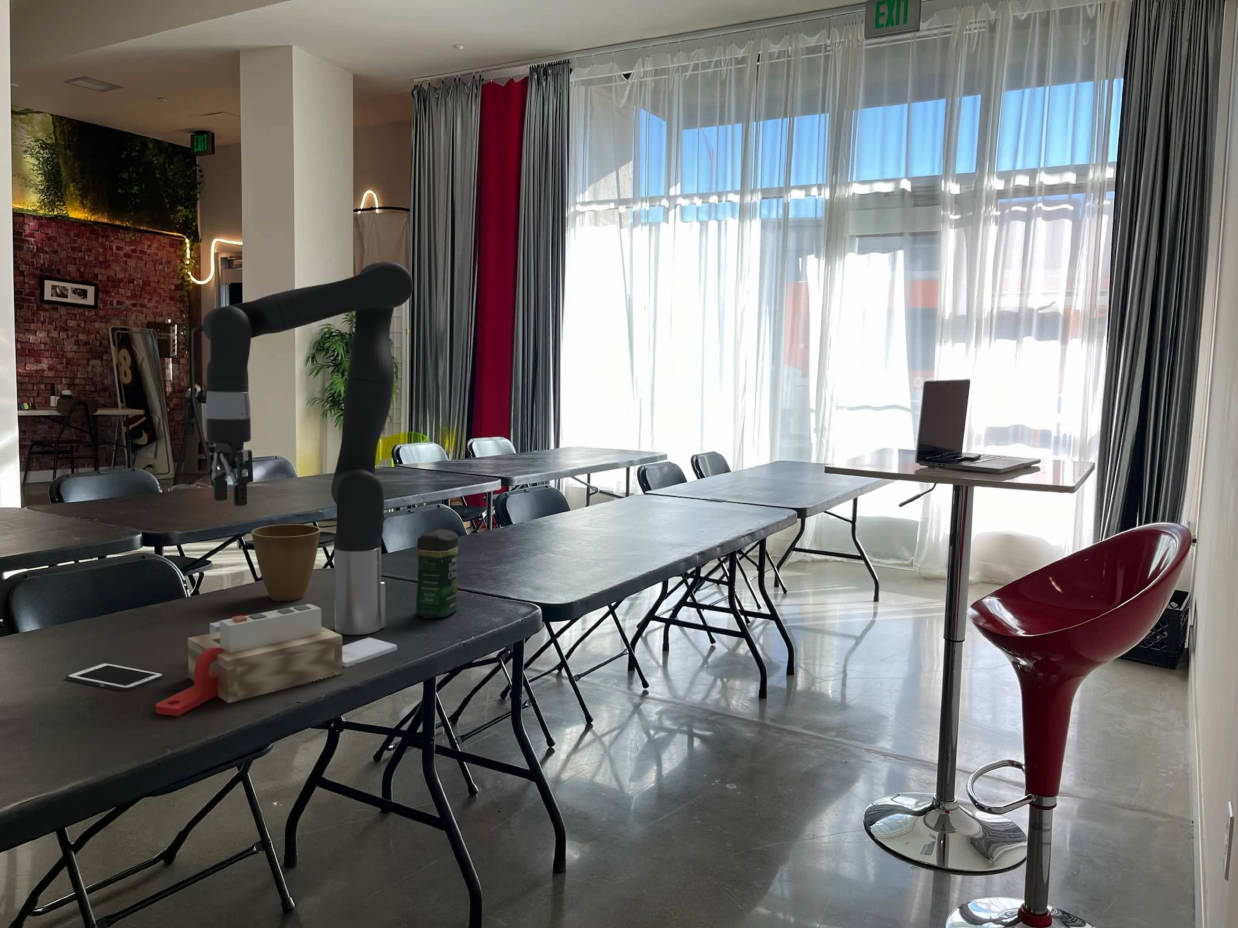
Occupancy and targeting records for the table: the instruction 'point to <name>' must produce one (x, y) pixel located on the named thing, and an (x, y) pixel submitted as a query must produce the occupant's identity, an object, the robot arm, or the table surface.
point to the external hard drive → (365, 650)
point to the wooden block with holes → (269, 664)
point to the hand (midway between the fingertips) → (230, 502)
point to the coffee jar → (437, 574)
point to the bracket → (194, 687)
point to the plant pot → (286, 558)
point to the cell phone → (115, 677)
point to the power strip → (269, 627)
